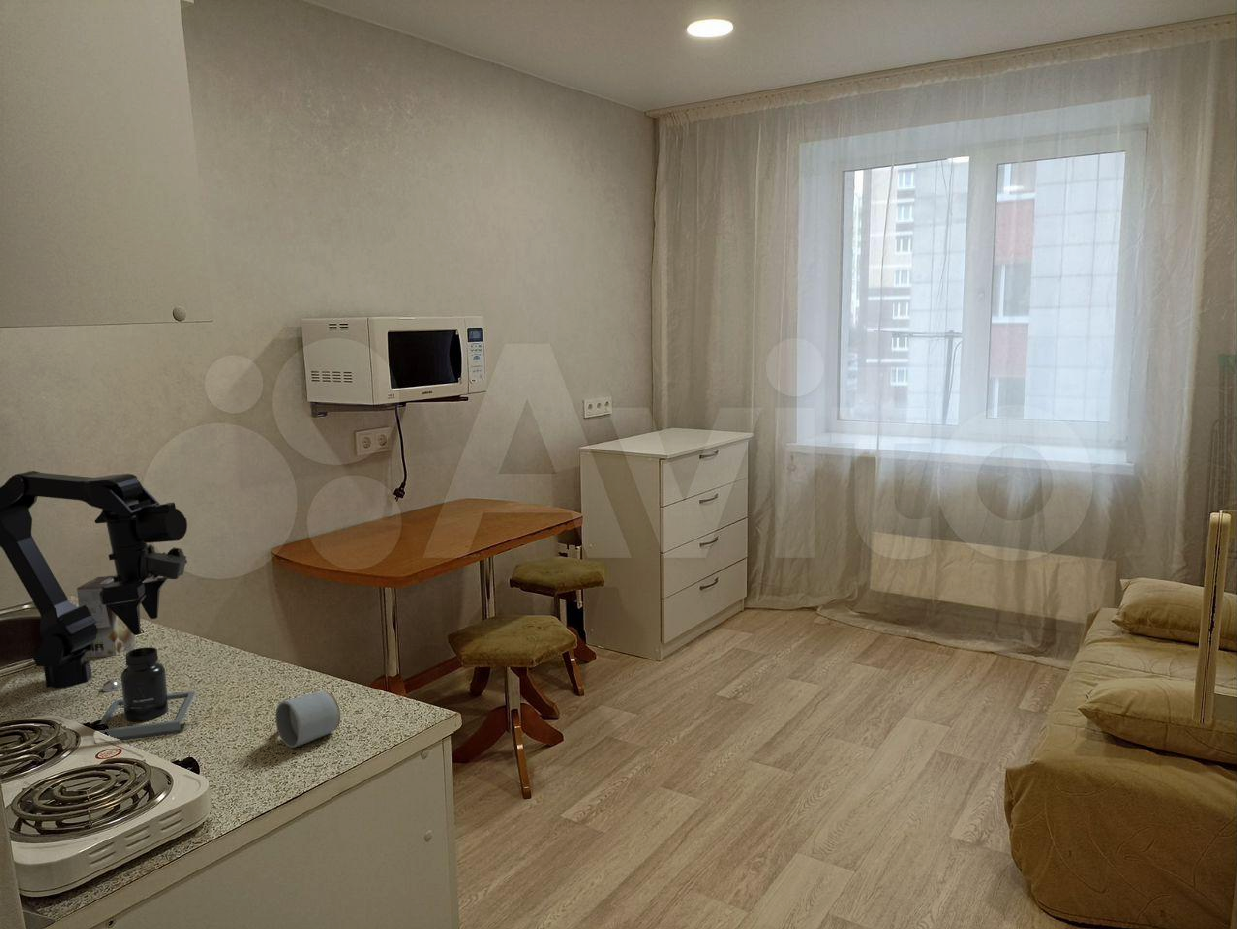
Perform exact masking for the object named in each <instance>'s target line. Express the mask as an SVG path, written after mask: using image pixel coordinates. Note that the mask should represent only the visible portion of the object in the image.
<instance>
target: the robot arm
mask: <svg viewBox="0 0 1237 929" xmlns="http://www.w3.org/2000/svg"><path fill="white" fill-rule="evenodd" d="M38 497H41V498H51V499H52V498H53V499H63V500H71V501H80V502H84V503H86V504H87V505H89V506H90V507H92V508H95V509H98V510H101V512H100V514H99V515H98V516H97V517H96V518H95V519H94V523H95V524H106V527H107V532H108V536H109V537H108V538H109V541H110V546H111V553H109V554H108V560H109V561H114V567H115V571H116V574H115V575H113V576H114V577H113V579H114V582H115V583H111V584H109V585H108V586H106V587H105V588H103V590H102V591H101V592H100V594H99V596H100V600H101V604H103V605H104V604H105V605H106V607H109V608H110V609H111V610H112V611H113V612H114V613H115V614H116V615H117V616H118V617H119V618H120V620H121V621H122V622H123V623H124V624H125V625H126V626H127V628H128V629H129V630H130V631H131V632H132V633H133V634H134V635H140V634H141V607H140V606H141V605H142V607H143V609H144V611H145V612H146V614H147V615H148V617H149V619H150V620H156V619H157V618H158V615H159V604H160V595H161V594H160V593H161V589H162V587H163V586H164V584H165V583H166V582H167V581H168V580H169V579H170V580H177V579H179V578H180V576H183V574H184V570H185V567H186V566H185V565H187V563H188V561H187V559H186V558H187V556H185V555H184V552H183V549H182V548H180V547H172V548H171V549H170V550H168V552H167V553H166V552H165V551H164V552H155V547H154V545H152V544H151V543H160V542H161V543H162V542H174V541H175V542H176V541H180V540H182V539H183V538H184V537H185V535H186V533H187V528H188V527H187V526H188V523H187V522H188V521H187V518H186V517H185V515H184V514H183V512H182V511H181V510H180V509H177V507H176V503H175V502H167V503H165V504H160V503H159V502H158V501H157V500H156V498H154V497H153V495H152V494H151V493H150V492H149V491H148V490H147V488H146V487H144V486H143V485H142V483H141V480H140V479H138V477H137V476H136V475H135V474H131V473H122V474H121V473H120V474H114V475H106V476H99V477H98V476H97V477H89V476H88V477H87V476H78V475H77V476H76V475H66V474H56V473H55V474H54V473H45V472H39V471H35V470H32V471H31V470H30V471H26V472H21V473H16V474H13V475H12V476H11V477H10V478H8V480H7V481H5V483H4V484H3V485H1V486H0V548H1V549H2V550H3V552H4V553H5V556H6V557H7V558H8V561H9V563H10V564H11V565H12V568H13V569H14V571H15V572H16V573H15V574H17V577H18V578H19V579H20V581H21V583H22V584H23V587H24V589H25V590H26V592H27V593H28V595H29V597H30V599H31V601H32V602H33V604H34V606H35V608H36V609H37V610H38V613H39V614H40V620H39V621H40V623H39V633H40V636H41V638H42V641H43V643H42V644H41V645H40V646H39V648H37V649H36V651H35V652H34V653H33V655H32V659H33V661H34V663H35V666H37V667H43V670H44V678H45V686H46V688H53V689H65V688H70V687H74V686H75V687H76V686H78V685H81V684H82V685H83V684H87V683H89V682H90V680H91V679H92V677H93V675H92V668H91V661H89V660H87V658H86V652H88V651H91V650H92V646H93V642H94V640H95V639H96V635H97V633H98V631H97V627H96V625H95V623H97V621H96V620H95V619H94V618H93V617H92V615H91V613H90V611H89V608H88V607H87V606H86V605H82V606H80V607H79V606H77V605H76V604H74V603H72V602H70V600H69V599H68V597H67V595H66V593H65V592H64V590H63V588H62V587H61V585H60V583H59V581H58V579H57V578H56V576H55V574H54V573H53V571H52V569H51V568H50V566H49V564H48V562H47V560H46V558H45V557H44V555H43V554H42V552H41V550H40V548H39V547H38V545H37V543H36V541H35V540H34V538H33V536H32V525H33V524H32V523H33V518H32V514H31V513H30V511H29V510H30V509H31V508H32V507H34V505H35V504H36V502H37V500H38ZM148 543H150V544H148ZM120 581H122V582H120Z"/></svg>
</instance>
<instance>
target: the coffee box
mask: <svg viewBox="0 0 1237 929" xmlns="http://www.w3.org/2000/svg"><path fill="white" fill-rule="evenodd" d="M114 576H115V575H107V576H105V575H104V576H97V577H95V578H93V579H91V580H89V581H88V582H86V583H85V584H82V585H80V586H79V587H77V588H76V592H77V599H78V600H77V601H78V602H77V603H78V607H80V606H82V605H86V606H87V607H88V608H89V611H90V613H91V615H92V617H93V618H94V619H95V620H96V621H97V623H95V625H96V627H97V631H98V633H97V635H96V639H95V640H94V642H93V646H92V650H91V651H88V652H86V659H87V658H104V657H116V656H118V655H120V654H121V653H125V652H126V653H127V652H129V651H131V650H134V649H136V636H135V635H136V634H135V635H134V634H133V633H132V632H131V631H130V630H129V629H128V628H127V626H126V625H125V624H124V623H123V622H122V621H121V620H120V618H119V617H118V616H117V615H116V614H115V613H114V612H113V611H112V610H111V609H110V608H109V607H106V605H105V604H104V605H103V604H101V600H100V596H99V594H100V592H101V591H102V590H103V588H105V587H106V586H108V585H109V584H111V583H115V582H114V579H113V577H114ZM120 582H122V581H120Z"/></svg>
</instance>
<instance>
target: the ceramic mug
mask: <svg viewBox="0 0 1237 929" xmlns="http://www.w3.org/2000/svg"><path fill="white" fill-rule="evenodd" d="M274 716H275V718H274V720H275V725H276V730H277V732H278V735H279V738H280V740H281V742H283V744H284V745H285V746H286V747H288V748H289V749H294V748H297V747H300V746H304V745H306V744H308V743H311V742H312V741H315V740H317V739H319V738H322V737H325V736H327V735H329V734H331V733H333V732H334V731H336V729H338V727H339V724H340V722H341V710H340V706H339V703H338V701H337V699H336V697H335V696H334V695H333V694H332V693H331V692H329V691H326V690H323V691H322V690H321V691H315V692H311V693H307V694H304V695H301V696H297V697H294V698H293V697H292V698H289V699H286V700H283V701H281V702H279V703H278V705H277V706H276V710H275V715H274Z"/></svg>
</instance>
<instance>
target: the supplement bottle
mask: <svg viewBox="0 0 1237 929" xmlns="http://www.w3.org/2000/svg"><path fill="white" fill-rule="evenodd" d="M124 656H125V665H126V667H125V668H124V669H123V670H122V672H121V674H120V685H121V695H122V696H121V697H122V700H123V704H122V705H123V707H122V708H123V716H124V720H125V721H126V722H130V723H142V722H147V721H149V722H150V721H151V720H155V719H158V718H161V717H163V716H164V715H166V714H167V713H168V711H169V699H168V697H167V694H168V687H167V686H168V685H167V674H166V668H165V666H164V665H163V664H162V663H160V662H158V660H159V656H158V651H157V649H156V647H152V646H151V647H149V646H148V647H147V646H146V647H140V648H133V649H132V650H131V651H128V652H126V653H125V655H124Z"/></svg>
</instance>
